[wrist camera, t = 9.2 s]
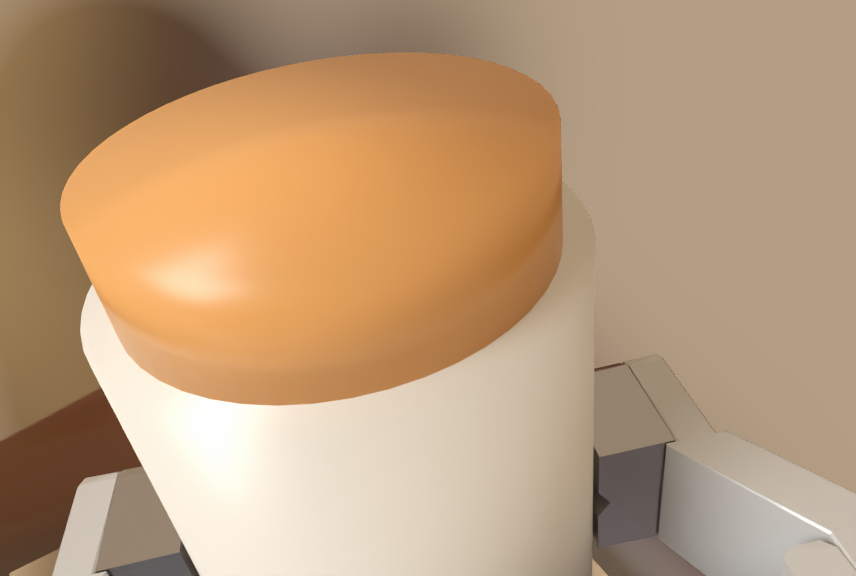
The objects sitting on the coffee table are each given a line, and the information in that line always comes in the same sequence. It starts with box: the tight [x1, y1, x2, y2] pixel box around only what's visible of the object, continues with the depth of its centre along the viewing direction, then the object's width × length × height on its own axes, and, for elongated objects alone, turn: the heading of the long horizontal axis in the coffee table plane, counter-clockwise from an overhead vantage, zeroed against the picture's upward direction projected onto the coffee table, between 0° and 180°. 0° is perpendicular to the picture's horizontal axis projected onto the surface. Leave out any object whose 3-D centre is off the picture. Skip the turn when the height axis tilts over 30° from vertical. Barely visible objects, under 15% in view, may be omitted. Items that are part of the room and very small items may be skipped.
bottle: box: [60, 53, 595, 576], centre depth 10 cm, size 5×5×11 cm
